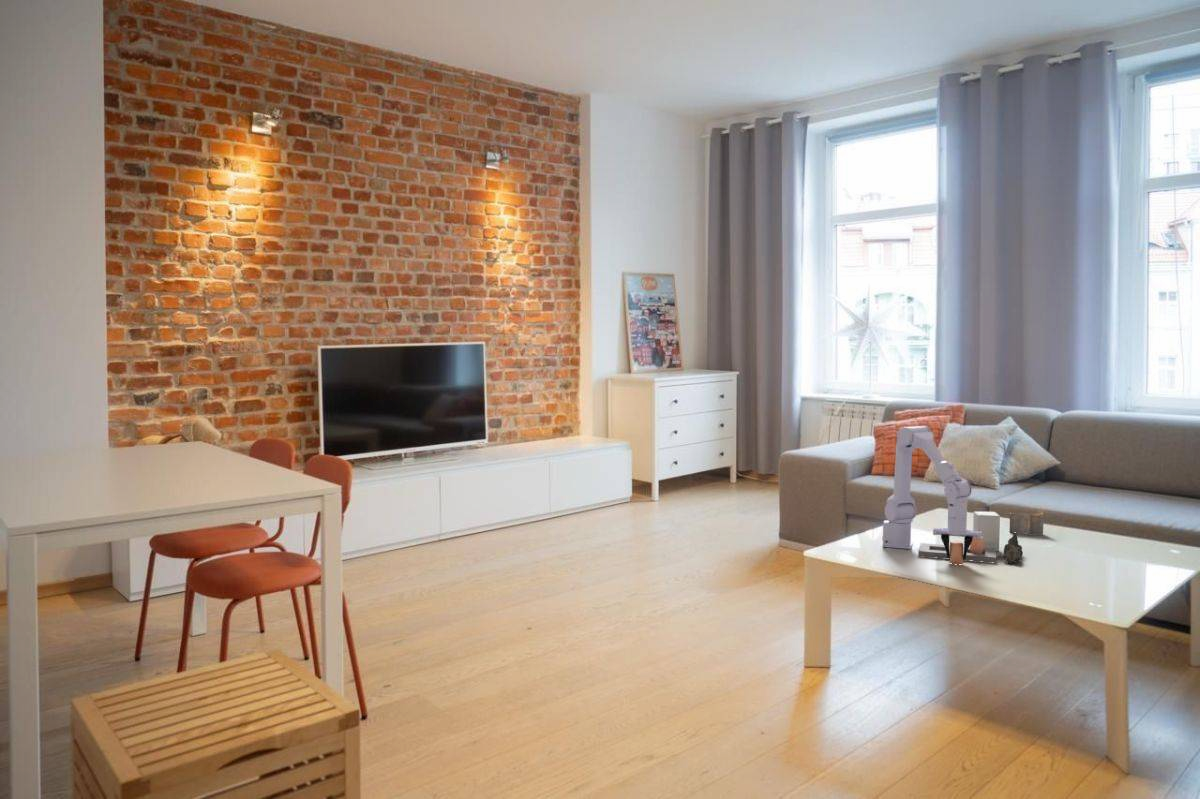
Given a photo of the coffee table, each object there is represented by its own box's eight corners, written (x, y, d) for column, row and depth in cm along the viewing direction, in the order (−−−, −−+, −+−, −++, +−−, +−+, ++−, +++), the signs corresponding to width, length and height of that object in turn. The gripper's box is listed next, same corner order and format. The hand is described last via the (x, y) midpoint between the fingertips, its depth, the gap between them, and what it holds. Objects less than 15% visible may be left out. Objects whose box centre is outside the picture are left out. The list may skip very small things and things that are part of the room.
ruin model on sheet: (1043, 535, 331) (1043, 509, 330) (1043, 536, 328) (1043, 510, 328) (1009, 532, 336) (1010, 506, 336) (1009, 533, 334) (1010, 508, 333)
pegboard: (918, 556, 299) (918, 550, 299) (920, 548, 310) (920, 543, 310) (996, 563, 290) (996, 557, 290) (995, 554, 301) (995, 549, 301)
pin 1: (949, 564, 289) (949, 543, 288) (949, 561, 293) (950, 540, 292) (962, 566, 287) (963, 544, 287) (962, 562, 291) (963, 542, 290)
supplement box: (999, 551, 305) (1000, 515, 304) (976, 551, 306) (977, 515, 305) (994, 546, 312) (995, 511, 311) (972, 545, 314) (973, 510, 313)
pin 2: (969, 558, 297) (970, 537, 296) (969, 555, 300) (970, 535, 300) (982, 559, 295) (983, 538, 295) (982, 556, 299) (983, 536, 298)
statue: (1021, 573, 288) (1021, 548, 305) (1024, 558, 286) (1024, 533, 303) (1000, 568, 290) (1001, 543, 308) (1003, 553, 288) (1004, 529, 306)
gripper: (932, 517, 288) (932, 558, 289) (981, 521, 282) (980, 563, 283) (934, 513, 294) (933, 553, 295) (981, 516, 289) (980, 557, 290)
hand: (956, 558), depth 290 cm, fingers open, 4 cm apart
